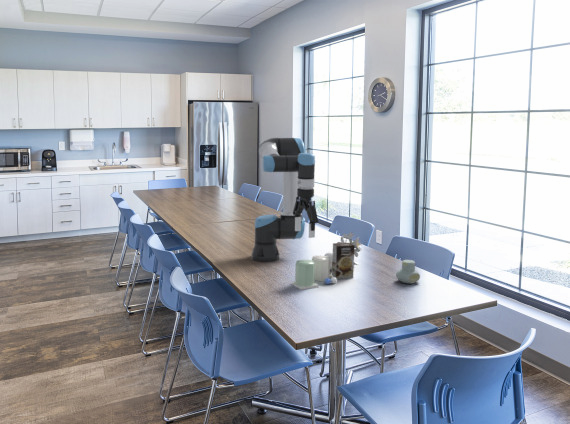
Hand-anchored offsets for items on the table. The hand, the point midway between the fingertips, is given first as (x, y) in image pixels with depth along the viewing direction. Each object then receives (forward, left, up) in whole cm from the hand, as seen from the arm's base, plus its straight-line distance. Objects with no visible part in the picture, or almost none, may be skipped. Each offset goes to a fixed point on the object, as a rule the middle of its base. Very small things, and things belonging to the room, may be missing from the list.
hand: (304, 234), depth 237 cm
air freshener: (+18, +46, -23) cm, 54 cm away
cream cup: (-3, +11, -23) cm, 25 cm away
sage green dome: (+4, -1, -22) cm, 22 cm away
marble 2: (+7, +12, -23) cm, 27 cm away
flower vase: (-16, +31, -23) cm, 42 cm away
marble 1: (+7, +9, -23) cm, 25 cm away
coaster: (+4, -1, -23) cm, 23 cm away
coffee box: (-1, +22, -23) cm, 32 cm away
